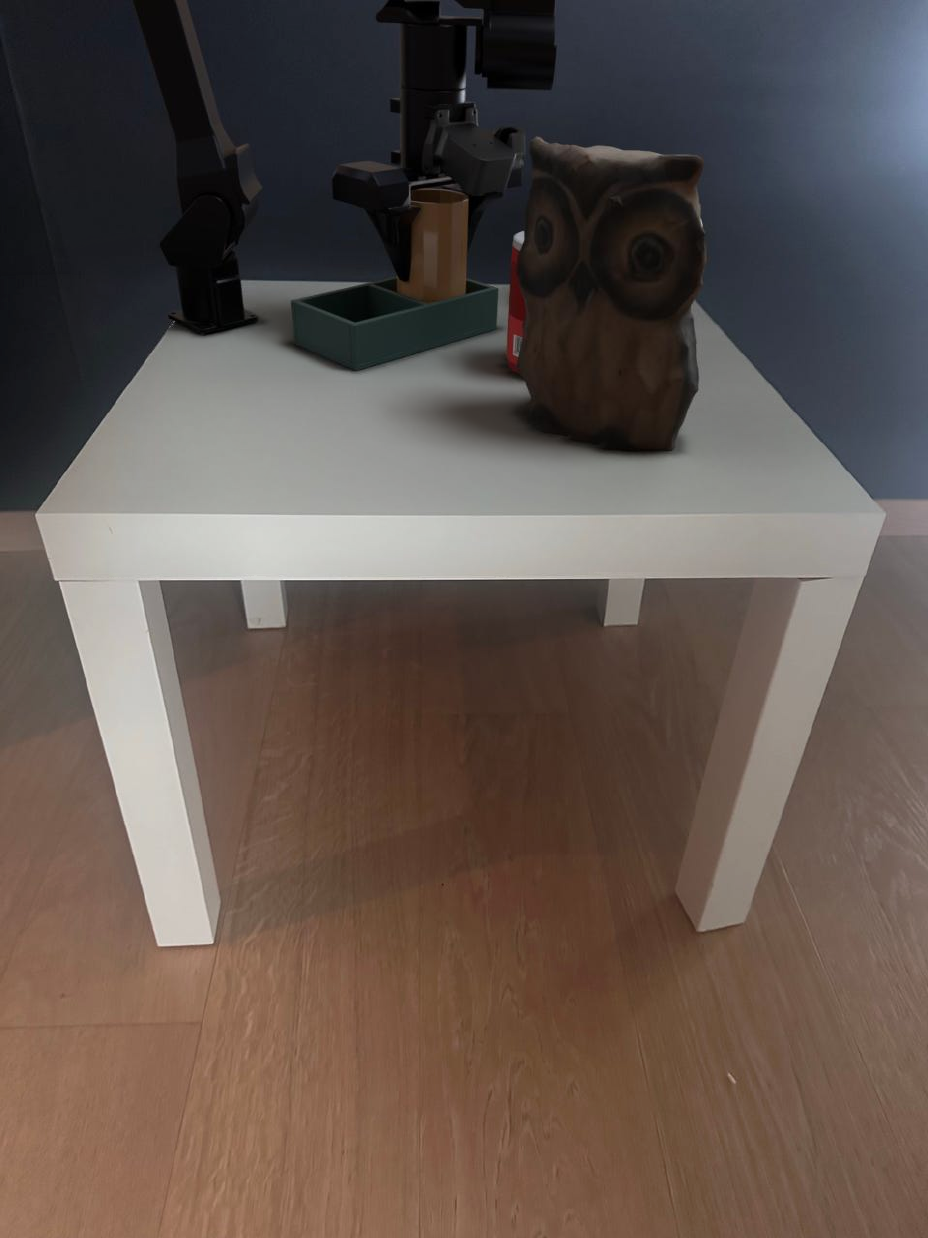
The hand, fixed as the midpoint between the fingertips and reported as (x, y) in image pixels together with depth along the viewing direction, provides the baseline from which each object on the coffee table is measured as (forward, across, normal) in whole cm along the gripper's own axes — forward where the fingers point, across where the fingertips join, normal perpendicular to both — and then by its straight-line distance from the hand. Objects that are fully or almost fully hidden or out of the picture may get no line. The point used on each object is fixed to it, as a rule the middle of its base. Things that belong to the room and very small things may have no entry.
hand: (430, 274), depth 88 cm
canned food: (+5, +1, -15) cm, 16 cm away
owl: (+5, -4, -26) cm, 27 cm away
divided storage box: (+5, -4, 0) cm, 7 cm away
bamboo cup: (+2, 0, 0) cm, 2 cm away
